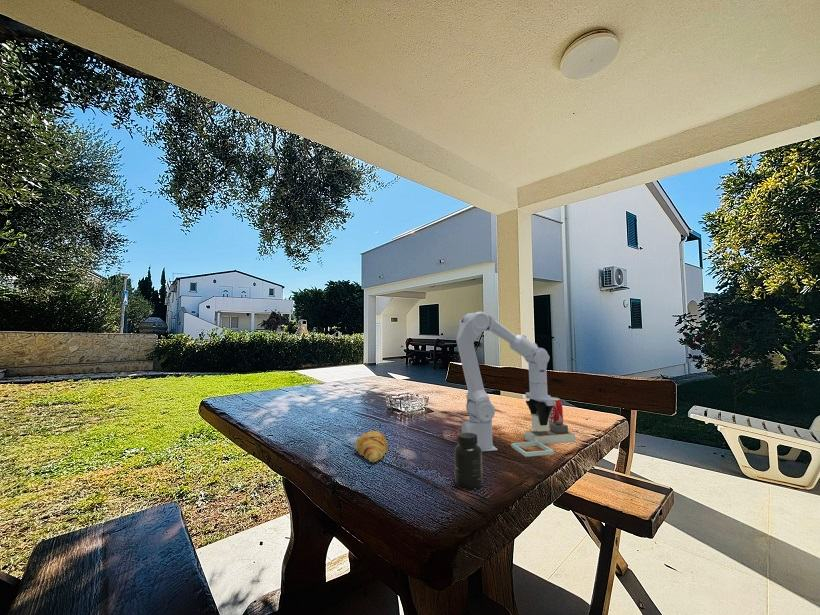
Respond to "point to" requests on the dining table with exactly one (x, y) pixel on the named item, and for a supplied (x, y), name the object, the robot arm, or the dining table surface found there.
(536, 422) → the white plug
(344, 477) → the dining table surface
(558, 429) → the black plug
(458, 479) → the supplement bottle
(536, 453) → the tray
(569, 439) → the power strip
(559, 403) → the soda can
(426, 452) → the dining table surface
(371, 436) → the croissant
